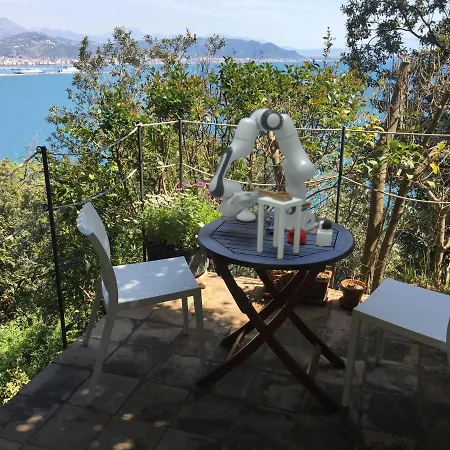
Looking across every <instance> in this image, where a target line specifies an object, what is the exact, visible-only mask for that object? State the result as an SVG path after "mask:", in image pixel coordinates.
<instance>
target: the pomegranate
mask: <svg viewBox="0 0 450 450" xmlns="http://www.w3.org/2000/svg"><path fill="white" fill-rule="evenodd" d="M291 228H293V229H291V230H289V231H288V232H287V234H286V239H287V241H288V243H290V244H292V245H294V233H295V228H294V227H291ZM300 228H302V227H300ZM307 237H308V235H307V231H304V229H300V240H299V245H303V244H305V242H306V241H307Z"/></svg>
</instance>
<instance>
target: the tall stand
mask: <svg viewBox="0 0 450 450" xmlns="http://www.w3.org/2000/svg"><path fill="white" fill-rule="evenodd" d="M257 204H258V212H257V213H258V214H257V215H258V218H257V244H256V245H257V247H256V252H257V253H259V254H260V253H262V252H263V250H264V249H263V244H264V221H265V219H264V218H265V217H264V216H265V206H270V207H273V208H274V219H273V239H272V242H273V243H272V246H273V247H274V248H277V257H276V258H278V259H277V260H279V259H282V258H283V259H284V245H285V230H286V229H285V211H286V208H290V207H293V206H296V216H295V233H294V244H293V251H292V252H293V254H295V253H298V254H299V253H300V244H299V240H300V225H301V209H302V204H303V200H302V199H298V198H293V199H292V200H290V201H286V202H281V201H277V200H273V198H270V197H263V198H258V203H257ZM283 259H282V260H283Z"/></svg>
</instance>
